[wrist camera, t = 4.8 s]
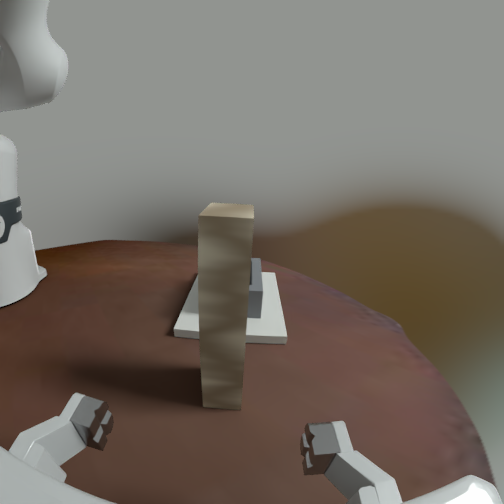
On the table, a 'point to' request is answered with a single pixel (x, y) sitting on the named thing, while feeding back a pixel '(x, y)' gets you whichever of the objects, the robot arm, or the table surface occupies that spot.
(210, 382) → the slat
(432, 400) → the table surface
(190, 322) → the stand
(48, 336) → the table surface
